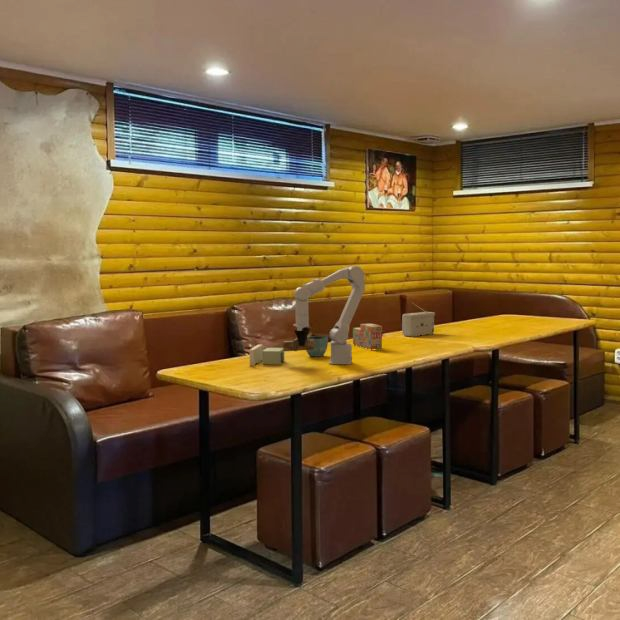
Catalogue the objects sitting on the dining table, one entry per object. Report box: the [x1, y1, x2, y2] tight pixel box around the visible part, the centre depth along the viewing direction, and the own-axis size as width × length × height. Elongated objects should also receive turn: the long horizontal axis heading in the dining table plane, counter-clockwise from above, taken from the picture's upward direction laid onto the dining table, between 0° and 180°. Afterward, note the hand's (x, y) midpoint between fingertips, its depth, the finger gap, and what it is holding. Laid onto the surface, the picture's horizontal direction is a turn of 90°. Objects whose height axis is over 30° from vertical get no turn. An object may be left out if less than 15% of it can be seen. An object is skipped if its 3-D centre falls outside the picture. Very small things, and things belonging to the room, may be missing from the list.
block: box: [261, 347, 285, 365], centre depth 302 cm, size 8×10×6 cm
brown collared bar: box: [282, 337, 314, 352], centre depth 295 cm, size 13×7×5 cm, turn 81°
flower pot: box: [305, 335, 329, 358], centre depth 318 cm, size 9×9×9 cm
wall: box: [249, 344, 263, 366], centre depth 303 cm, size 2×16×7 cm, turn 170°
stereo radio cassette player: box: [401, 302, 436, 338], centre depth 390 cm, size 21×8×20 cm, turn 129°
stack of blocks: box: [352, 323, 383, 351], centre depth 345 cm, size 21×6×12 cm, turn 22°
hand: (302, 345), depth 294 cm, fingers closed on brown collared bar, 4 cm apart
